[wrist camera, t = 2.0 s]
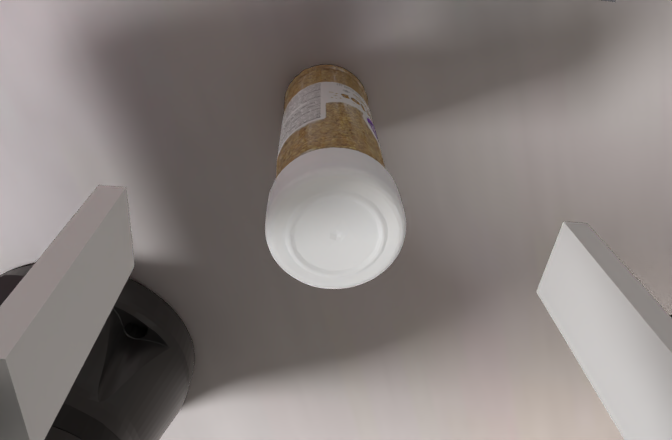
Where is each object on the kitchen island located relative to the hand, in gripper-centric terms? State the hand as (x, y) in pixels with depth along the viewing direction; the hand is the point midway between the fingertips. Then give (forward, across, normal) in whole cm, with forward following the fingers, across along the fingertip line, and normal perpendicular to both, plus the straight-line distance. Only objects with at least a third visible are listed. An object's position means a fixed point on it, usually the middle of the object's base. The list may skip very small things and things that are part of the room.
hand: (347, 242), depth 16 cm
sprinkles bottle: (+14, 0, 0) cm, 14 cm away
